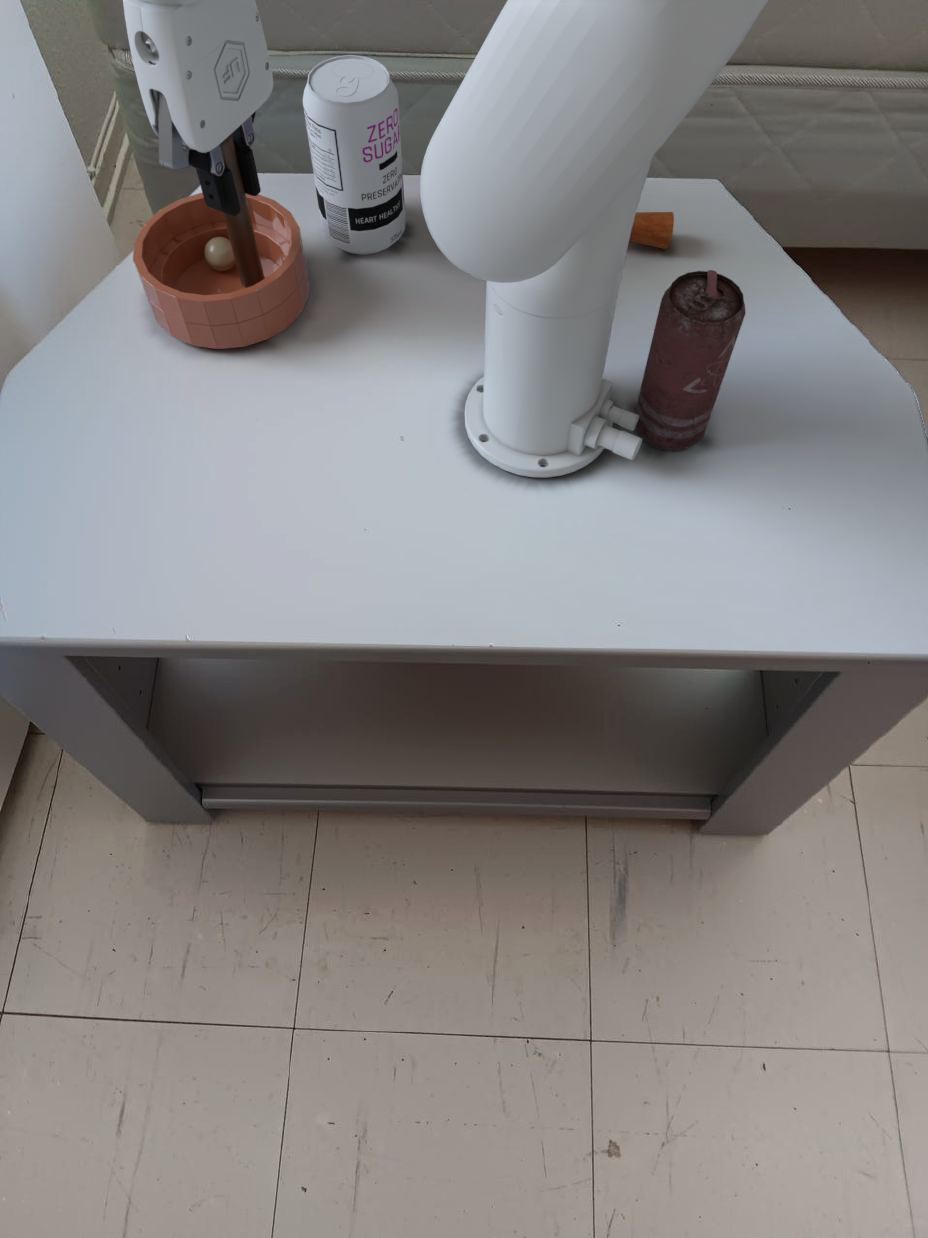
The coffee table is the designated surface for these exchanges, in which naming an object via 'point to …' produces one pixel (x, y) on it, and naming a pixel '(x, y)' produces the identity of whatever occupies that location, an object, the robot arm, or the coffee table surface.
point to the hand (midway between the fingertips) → (233, 197)
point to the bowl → (220, 274)
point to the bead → (219, 254)
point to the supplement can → (356, 152)
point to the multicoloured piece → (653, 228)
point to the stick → (241, 224)
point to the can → (688, 358)
